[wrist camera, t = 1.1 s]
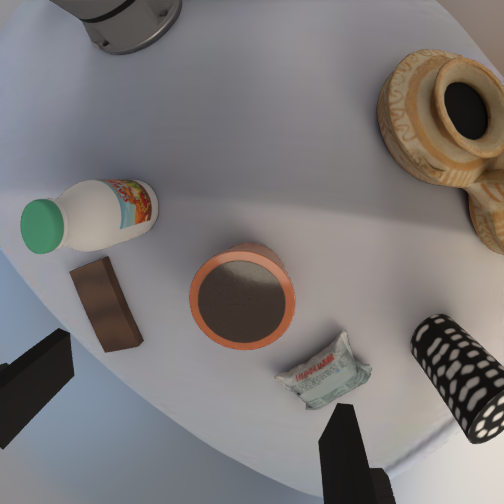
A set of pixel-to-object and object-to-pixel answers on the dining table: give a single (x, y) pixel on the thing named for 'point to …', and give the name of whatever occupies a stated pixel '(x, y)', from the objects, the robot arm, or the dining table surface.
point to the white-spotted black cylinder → (462, 376)
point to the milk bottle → (90, 216)
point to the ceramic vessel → (449, 131)
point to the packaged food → (326, 374)
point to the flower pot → (243, 297)
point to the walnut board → (106, 306)
